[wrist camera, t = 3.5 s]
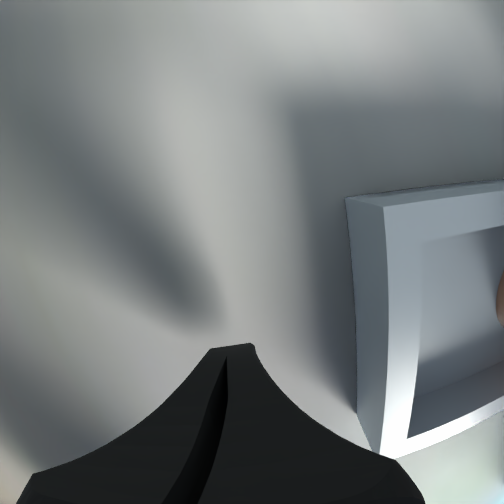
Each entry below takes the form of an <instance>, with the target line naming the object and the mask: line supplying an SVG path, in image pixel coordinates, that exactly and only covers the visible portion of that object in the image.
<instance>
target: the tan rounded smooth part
mask: <svg viewBox="0 0 504 504" xmlns="http://www.w3.org/2000/svg"><path fill="white" fill-rule="evenodd" d="M496 314H497V318H498V321H499V323H500V324H501V326H502V327H503V328H504V271H503V274H502V276H501V279H500V283H499V286H498V291H497V297H496Z"/></svg>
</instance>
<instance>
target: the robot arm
mask: <svg viewBox="0 0 504 504" xmlns="http://www.w3.org/2000/svg"><path fill="white" fill-rule="evenodd" d="M16 504H425V501H424V498H423V496H422V494H421V492H420V491H419V489H418V488H417V486H416V485H415V483H414V482H413V481H412V479H411V478H410V477H409V475H408V474H407V473H406V471H405V470H404V469H403V468H402V467H401V466H400V464H399V463H398V462H397V461H396V460H394V459H391V458H388V457H386V456H383V455H380V454H377V453H375V452H372V451H369V450H367V449H364V448H362V447H360V446H357V445H355V444H354V443H352V442H350V441H348V440H346V439H344V438H342V437H340V436H338V435H337V434H335V433H334V432H332V431H330V430H329V429H327V428H326V427H324V426H323V425H321V424H319V423H318V422H316V421H315V420H314V419H312V418H311V417H310V416H308V415H307V414H306V413H305V412H303V411H302V410H301V409H300V408H299V407H298V406H297V405H295V404H294V403H293V402H292V401H291V400H290V399H289V398H288V397H287V396H286V395H285V394H284V393H283V392H282V390H281V389H280V388H279V387H278V386H277V385H276V384H275V382H274V381H273V380H272V379H271V377H270V376H269V374H268V373H267V371H266V370H265V369H264V367H263V365H262V364H261V362H260V360H259V358H258V356H257V354H256V350H255V346H254V345H253V344H251V343H246V344H239V345H233V346H226V347H218V348H211V349H210V350H209V351H208V352H207V353H206V355H205V356H204V357H203V358H202V360H201V361H200V362H199V363H198V365H197V366H196V367H195V368H194V370H193V371H192V372H191V373H190V375H189V376H188V377H187V378H186V379H185V380H184V382H183V383H182V384H181V385H180V386H179V387H178V388H177V389H176V390H175V391H174V392H173V393H172V394H171V395H170V396H169V397H168V398H167V399H166V400H165V402H164V403H162V404H161V405H160V406H159V407H158V408H157V409H156V410H155V411H154V412H152V413H151V414H150V415H149V416H148V417H146V418H145V419H144V420H143V421H141V422H140V423H139V424H137V425H136V426H135V427H133V428H132V429H130V430H129V431H127V432H125V433H124V434H122V435H121V436H119V437H118V438H116V439H115V440H113V441H111V442H110V443H108V444H106V445H105V446H103V447H101V448H99V449H97V450H95V451H93V452H91V453H89V454H87V455H85V456H82V457H80V458H78V459H76V460H73V461H71V462H68V463H65V464H63V465H60V466H57V467H54V468H51V469H48V470H45V471H41V472H38V473H34V474H32V476H31V478H30V480H29V481H28V483H27V485H26V487H25V488H24V490H23V492H22V494H21V496H20V497H19V499H18V501H17V503H16Z"/></svg>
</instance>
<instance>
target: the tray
mask: <svg viewBox="0 0 504 504" xmlns="http://www.w3.org/2000/svg"><path fill="white" fill-rule="evenodd" d="M345 204H346V212H347V220H348V229H349V239H350V249H351V260H352V272H353V285H354V301H355V320H356V347H357V417H358V419H359V422H360V424H361V426H362V428H363V431H364V433H365V435H366V438H367V440H368V442H369V444H370V447H371V449H372V451H373V452H375V453H377V454H380V455H383V456H386V457H388V458H391V459H395V458H398V457H401V456H403V455H406V454H409V453H412V452H414V451H417V450H420V449H422V448H425V447H427V446H430V445H432V444H435V443H437V442H440V441H442V440H444V439H447V438H449V437H451V436H453V435H455V434H458V433H460V432H462V431H464V430H466V429H468V428H470V427H472V426H474V425H476V424H478V423H480V422H482V421H484V420H486V419H488V418H490V417H491V416H493V415H495V414H497V413H499V412H500V411H502V410H504V328H503V327H502V326H501V324H500V323H499V321H498V318H497V314H496V297H497V291H498V286H499V283H500V279H501V276H502V274H503V271H504V179H497V180H487V181H476V182H466V183H457V184H448V185H439V186H430V187H422V188H413V189H405V190H397V191H390V192H382V193H375V194H367V195H360V196H353V197H346V198H345Z"/></svg>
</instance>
